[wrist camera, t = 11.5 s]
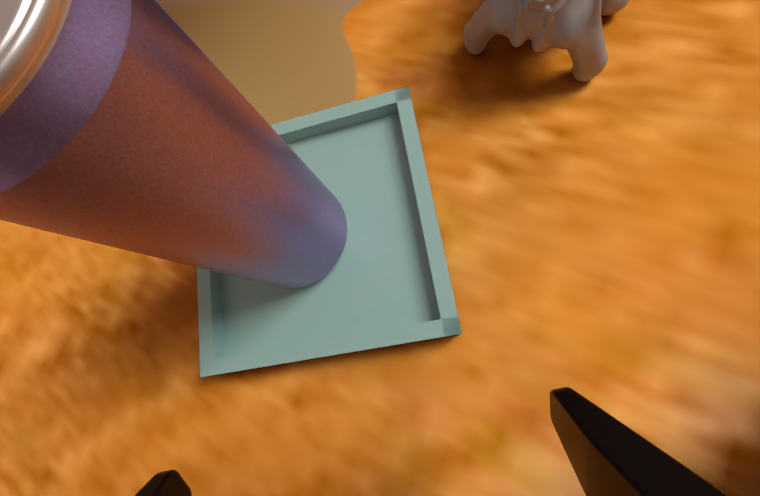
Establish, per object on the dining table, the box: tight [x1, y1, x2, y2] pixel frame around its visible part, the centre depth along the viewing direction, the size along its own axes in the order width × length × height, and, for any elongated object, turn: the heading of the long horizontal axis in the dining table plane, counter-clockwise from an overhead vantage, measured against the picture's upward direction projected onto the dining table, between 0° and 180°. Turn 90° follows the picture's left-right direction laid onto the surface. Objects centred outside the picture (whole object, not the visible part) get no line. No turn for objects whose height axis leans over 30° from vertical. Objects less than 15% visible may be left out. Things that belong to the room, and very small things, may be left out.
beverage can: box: [0, 0, 347, 288], centre depth 13 cm, size 6×6×15 cm
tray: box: [197, 86, 462, 377], centre depth 20 cm, size 14×14×2 cm
